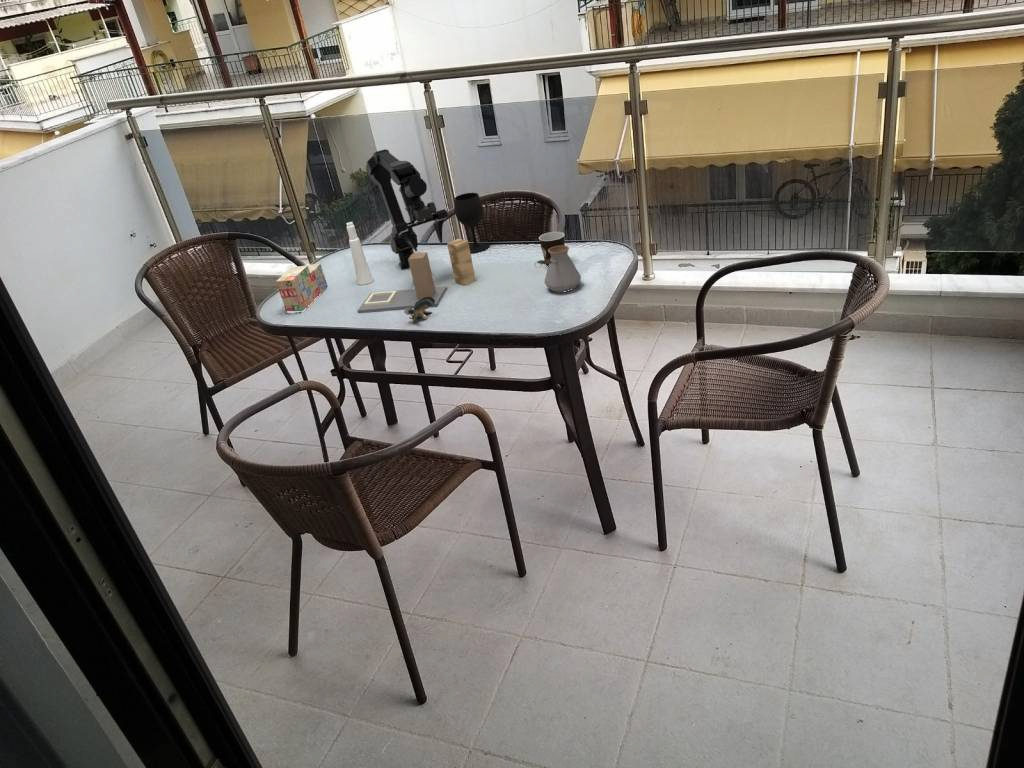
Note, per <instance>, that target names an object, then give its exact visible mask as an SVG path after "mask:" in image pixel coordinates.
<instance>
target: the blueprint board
mask: <svg viewBox="0 0 1024 768" xmlns="http://www.w3.org/2000/svg"><path fill="white" fill-rule="evenodd" d="M408 261H409V266H410V268H409V269H410V272H411V278H412V281H413V286H414V288H412V289H411V288H410V289H399V290H389V291H378V292H377V291H376V292H370V294H368V296H367V298H366V299H365V300H364V301H363V302H362V303H361V305H360V307H359V308H358V309H357V310H356V311H357V313H358V314H365V313H374V312H389V311H401V310H406V309H407V308H410V309H414V306H415V303H416V302H418V301H419V300H421V299H422V298H424V297H432V298H434V300H435V303H434V305H433V306H431V307H430V308H434V307H438V306H439V303H440V302H441V301H442V298H443V297H444V295H445V293H446V291H447V290H448V287H447V286H446V285H445V286H444V285H443V286H435V281H434V277H433V273H432V269H431V265H430V264H431V262H430V259H429V255H428V251H426V252H417V253H415V252H414V254H412V255H411V256H410V257H409V259H408Z"/></svg>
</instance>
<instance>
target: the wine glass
mask: <svg viewBox="0 0 1024 768" xmlns="http://www.w3.org/2000/svg"><path fill="white" fill-rule="evenodd" d="M453 201H454V203H453V207H454V209H453V210H454V214H455V216H456V218H457V220H458V222H459V223H460V224H462V225H463V226H464V227H466V228H469V229H470V231H471V234H472V239H473V243H471V244H469V248H470V253H471V255H473V254H479V252H480V253H483V252H485V251H487V250H488V248H489V249H490V247H491V246H490V245H491V244H489V243H488V244H483V243H484V242H478V241H477V237H476V231H475V229H476V227H478V225H479V223H480V222H481V220H482V218H483V215H484V205H483V203H482V200H481V197H480V195H479V194H478V193H477V192H467V193H466V192H465V193H462V194H459V195H457V196H455V197H454V200H453ZM489 246H490V247H489ZM486 249H487V250H486ZM482 251H483V252H482Z"/></svg>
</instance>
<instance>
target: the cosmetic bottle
mask: <svg viewBox="0 0 1024 768" xmlns="http://www.w3.org/2000/svg"><path fill="white" fill-rule="evenodd" d="M346 231H347V234H348V238H349V240H348V243H349V247H350V252H351V258H352V262H353V266H354V270H355V278H356V283H357V285H359V286H365V285H369V284H372V283H373V282H374V279H375V278H374V277H373V275H372V272H371V270H370V268H369V265H368V264H369V263H367V258H366V256H365V253H364V252H365V251H364V249H363V246H362V243H361V239H360V238H359V237H358V235H357V230H356V227H355V224H354V222H353V221H349V222H346Z"/></svg>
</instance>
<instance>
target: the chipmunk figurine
mask: <svg viewBox="0 0 1024 768" xmlns="http://www.w3.org/2000/svg"><path fill="white" fill-rule="evenodd" d="M434 303H435V300H434V298H432V297H424V298H422V299H421V300H419V301H418V302H416V303H415V306H414V309H410V308H407V309H403V313H404V314H405V315H408V316H409V315H410V316H411V317H408V319H411V320H412V321H413V322H412V323H413V325H415V324H416V323H417V319H418V317H419V318H423V319H426V321H427V320H429V319H428V317H427V315H426V314H432V313H433V312H432V311H428V310H427V309H429V308H432V307H431V306H433V305H434Z"/></svg>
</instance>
